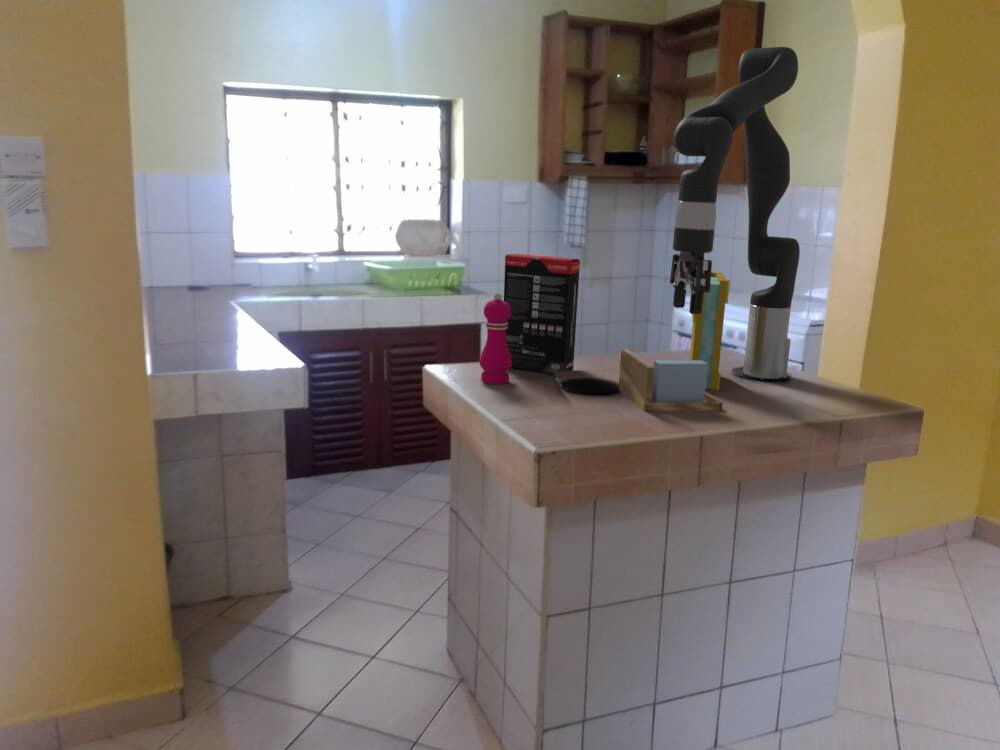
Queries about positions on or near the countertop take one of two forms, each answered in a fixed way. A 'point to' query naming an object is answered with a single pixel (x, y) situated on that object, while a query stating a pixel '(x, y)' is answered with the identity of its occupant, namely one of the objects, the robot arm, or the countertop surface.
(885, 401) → the countertop surface
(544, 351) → the graphics card box
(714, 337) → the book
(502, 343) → the pepper mill
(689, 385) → the block
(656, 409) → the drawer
